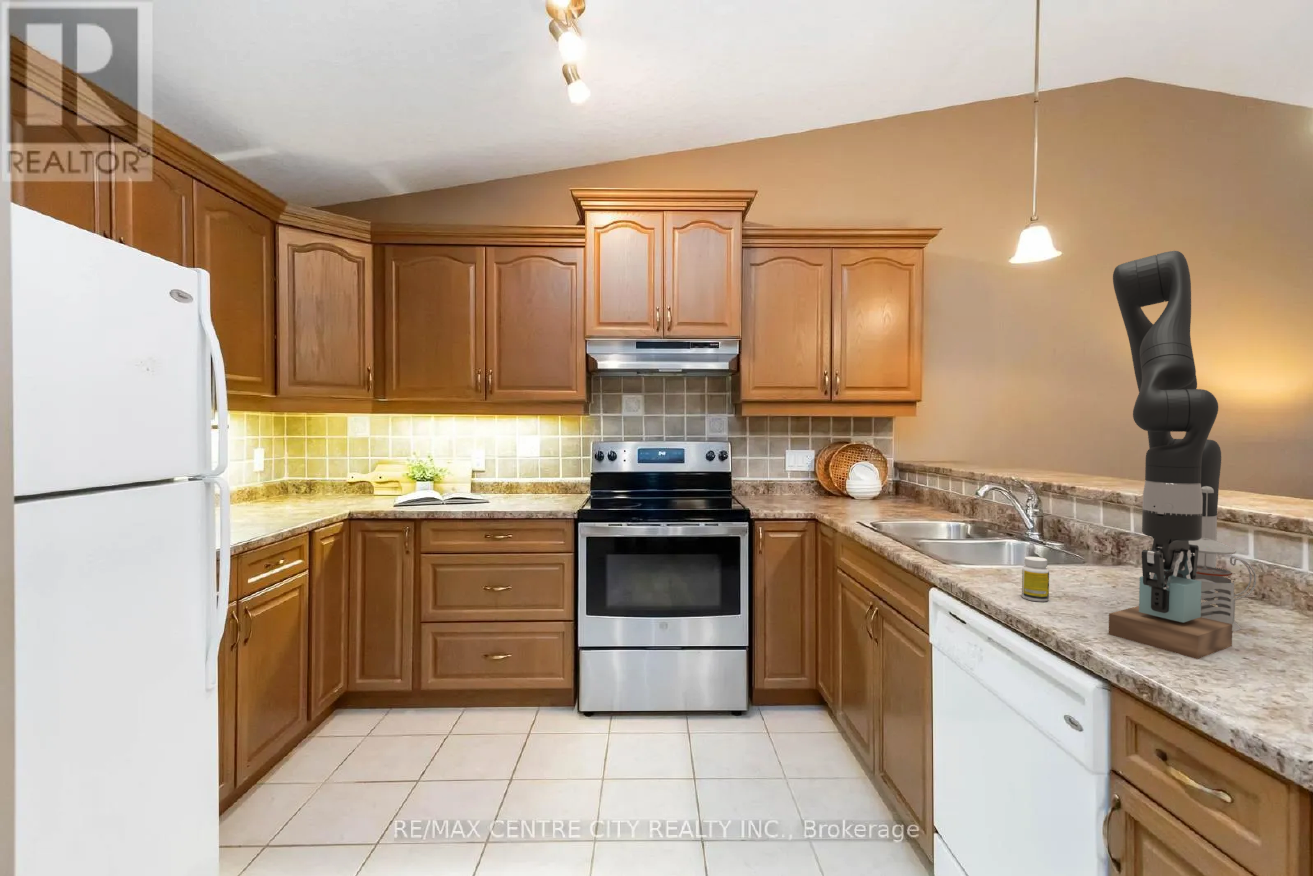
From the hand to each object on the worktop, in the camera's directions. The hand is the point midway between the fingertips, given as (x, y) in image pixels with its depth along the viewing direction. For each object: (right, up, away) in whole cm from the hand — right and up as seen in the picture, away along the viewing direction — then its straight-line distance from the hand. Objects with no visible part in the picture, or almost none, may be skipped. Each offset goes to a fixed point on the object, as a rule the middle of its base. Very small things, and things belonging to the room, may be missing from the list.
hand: (1169, 608), depth 98 cm
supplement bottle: (-7, -5, +23) cm, 25 cm away
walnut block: (0, -6, 0) cm, 6 cm away
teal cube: (0, -1, 0) cm, 1 cm away
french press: (+15, -5, +9) cm, 19 cm away
